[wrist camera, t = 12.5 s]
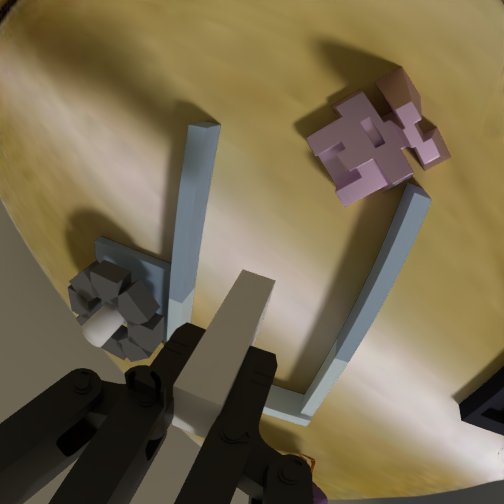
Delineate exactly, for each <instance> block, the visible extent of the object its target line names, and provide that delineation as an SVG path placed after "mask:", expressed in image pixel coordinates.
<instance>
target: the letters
mask: <svg viewBox="0 0 504 504" xmlns="http://www.w3.org/2000/svg"><path fill="white" fill-rule="evenodd" d="M374 82H375V83H376V85H377V86H378V88H379V89H380V91H381V93H382V94H383V96H384V97H385V99H386V101H387V102H388V104H389V106H390V107H391V109H392V112H390V113H388V114H386V115H385V116H383V117H380V116H379V114H378V113H377V111H376V110H375V109H374V107H373V106H372V104H371V103H370V101H369V100H368V98H367V97H366V96H365V94H364V93H363V92H362V91H361V90H360V89H359V90H357V91H356V92H354V93H352V94H350V95H348V96H347V97H345V98H343V99H341V100H340V101H338V102H336V103H335V104H333V105H331V106H332V108H333V109H334V111H335V112H336V114H337V115H338V117H339V119H337V120H335V121H333V122H332V123H330V124H328V125H327V126H325V127H323V128H322V129H320V130H318V131H316V132H315V133H313V134H311V135H310V136H308V137H307V138H306V139H307V141H308V143H309V145H310V147H311V149H312V151H313V153H314V155H315V156H317V155H318V157H319V158H320V160H321V161H322V163H323V165H324V166H325V168H326V169H327V171H328V173H329V174H330V176H331V178H332V179H333V181H334V183H335V184H336V190H335V193H336V194H337V196H338V198H339V199H340V201H341V203H342V204H343V206H344V207H346V206H348V205H350V204H352V203H353V202H355V201H357V200H359V199H361V198H363V197H365V196H367V195H369V194H371V193H373V192H375V191H376V190H378V189H380V188H381V190H382V192H383V193H384V192H386V191H387V190H389V189H391V188H393V187H395V186H397V185H399V184H401V183H403V182H405V181H407V180H409V179H411V177H412V175H413V173H414V172H413V170H412V168H411V167H410V165H409V163H408V161H407V160H406V158H405V156H404V154H403V153H402V151H401V149H403V148H405V147H410V148H414V150H415V152H416V154H417V156H418V158H419V160H420V162H421V164H422V166H423V168H424V171H426V170H428V169H430V168H432V167H433V166H435V165H437V164H439V163H441V162H443V161H445V160H447V159H449V158H451V155H450V153H449V151H448V149H447V146H446V144H445V142H444V140H443V138H442V136H441V134H440V132H439V130H438V128H437V127H436V128H434V129H432V130H430V131H428V132H426V133H424V134H423V132H422V130H421V128H420V126H419V125H418V123H417V122H418V121H420V120H422V112H421V98H420V95H419V93H418V91H417V90H416V88H415V86H414V85H413V83H412V81H411V80H410V78H409V76H408V75H407V73H406V72H405V70H404V69H403V67H400V68H398V69H396V70H394V71H392V72H391V73H389V74H387V75H385V76H383V77H381V78H379V79H377V80H376V81H374Z"/></svg>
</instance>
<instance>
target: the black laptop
mask: <svg viewBox="0 0 504 504" xmlns="http://www.w3.org/2000/svg"><path fill="white" fill-rule="evenodd" d="M459 409H460V415H461V421H464V422H466V423H469V424H472V425H475V426H478V427H480V428H483V429H486V430H489V431H492V432H495V433H498V434H501V435H504V366H503V367H502V368H501V369H500V370H499V371H498V372H497V373H496V374H495V375H493V376H492V377H491V378H490V379H489V380H488V381H487V382H486V383H484V384H483V385H482V386H481V387H480V388H479V389H477V390H476V391H475V392H474V393H473V394H471V395H470V396H469V397H468V398H466V399H465V400H464V401H463V402H461V403H460V404H459Z"/></svg>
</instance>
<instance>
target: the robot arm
mask: <svg viewBox="0 0 504 504" xmlns="http://www.w3.org/2000/svg"><path fill="white" fill-rule="evenodd" d="M274 284H275V280H272V279H269V278H266V277H263V276H260V275H257V274H255V273H252V272H249V271H246V270H242V271H241V273H240V275H239V276H238V278H237V280H236V281H235V283H234V285H233V287H232V288H231V290H230V292H229V293H228V295H227V297H226V298H225V300H224V302H223V303H222V305H221V307H220V308H219V310H218V312H217V313H216V315H215V317H214V318H213V320H212V322H211V323H210V325H209V327H208V328H207V330H205V329H203V328H200V327H198V326H195V325H193V324H190V323H188V322H186V323H185V324H183V325H181V326H180V327H178V328H176V330H175V331H174V332H173V334H172V335H171V337H170V338H169V340H168V341H167V342H166V344H165V345H164V347H163V348H162V349H161V351H160V352H159V354H158V355H157V357H156V358H155V359H154V361H153V362H152V364H151V365H150V366H147V365H138V366H135V367H132V368H130V369H129V370H128V371H127V372H125V373H124V374H125V379H126V384H117V383H112V382H108V381H103V380H101V379H100V377H99V376H98V375H97V373H95V372H94V371H92V370H90V369H86V368H80V369H75V370H73V371H71V372H70V373H68V374H67V375H65V376H64V377H63V378H61V379H60V380H59V381H57V382H56V383H55V384H53V385H52V386H50V387H49V388H48V389H46V390H45V391H44V392H42V393H41V394H40V395H38V396H37V397H36V398H34V399H33V400H32V401H30V402H29V403H27V404H26V405H25V406H23V407H22V408H21V409H20V410H18V411H17V412H15V413H14V414H13V415H11V416H10V417H9V418H7V419H6V420H5V421H3V422H2V423H1V424H0V504H23V503H24V502H25V501H27V500H28V499H29V498H30V497H32V496H33V495H34V494H35V493H37V492H38V491H39V490H40V489H41V488H43V487H44V486H45V485H46V484H48V483H49V482H50V481H51V480H53V479H54V478H55V477H56V476H57V475H58V474H60V473H61V472H62V471H63V470H64V469H66V468H67V467H68V466H69V465H70V464H71V463H73V462H74V461H75V460H76V459H77V458H78V460H77V462H76V463H75V464H74V466H73V467H72V469H71V470H70V472H69V473H68V475H67V476H66V478H65V479H64V481H63V482H62V484H61V485H60V487H59V488H58V490H57V491H56V493H55V494H54V496H53V497H52V499H51V500H50V502H49V504H129V503H130V501H131V499H132V498H133V496H134V494H135V493H136V491H137V489H138V487H139V485H140V484H141V482H142V480H143V478H144V476H145V475H146V473H147V471H148V469H149V467H150V465H151V464H152V462H153V460H154V458H155V456H156V455H157V453H158V451H159V449H160V447H161V446H162V444H163V442H164V440H165V438H166V435H167V429H168V427H169V425H170V423H171V422H172V420H173V425H175V426H177V427H179V428H181V429H184V430H186V431H188V432H191V433H193V434H196V435H198V436H201V437H203V438H206V439H205V441H204V443H203V445H202V447H201V449H200V451H199V454H198V455H197V458H196V460H195V462H194V464H193V466H192V468H191V470H190V472H189V474H188V476H187V478H186V480H185V483H184V484H183V486H182V488H181V491H180V493H179V495H178V497H177V499H176V501H175V503H174V504H230V502H231V500H232V497H233V495H234V492H235V490H236V487H237V488H239V489H240V490H242V491H243V492H245V493H246V494H247V495H249V504H313V486H312V472H311V468H310V466H309V465H308V463H307V462H306V461H305V460H304V459H302V458H301V457H299V456H296V455H291V454H287V455H282V454H280V453H279V452H277V451H276V450H274V449H273V448H271V447H270V446H269V445H267V444H266V443H265V442H264V440H263V439H262V438H261V435H260V433H259V421H260V418H261V415H262V412H263V409H264V406H265V403H266V400H267V397H268V394H269V391H270V388H271V385H272V382H273V379H274V376H275V373H276V370H277V360H276V355H275V354H273V353H270V352H267V351H264V350H262V349H259V348H256V347H253V345H254V342H255V340H256V338H257V335H258V333H259V330H260V328H261V325H262V322H263V319H264V316H265V313H266V310H267V307H268V303H269V300H270V297H271V294H272V291H273V288H274Z"/></svg>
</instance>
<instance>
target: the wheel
mask: <svg viewBox="0 0 504 504" xmlns="http://www.w3.org/2000/svg"><path fill="white" fill-rule="evenodd" d="M69 282H70V283H71V285H70V286H69V287H68V292H69V298H70V303H71V308H72V311H74V312H75V313H77V314H79V316H78V317H77V318H76V319H77V321H78V322H79V323H80V325H81V326H82V325H83V324H84V323H85V322H86V321H87V320H88V319H89V318H90V317H91V316H92V315H93V314H95V313H96V312H97V311H98V310H99V309H100V308H101V307H102V300H104V301H106V302H108V303H110V304H112V305H114V306H115V308H116V309H117V310H118V312H119V313H120V314H121V316H122V317H123V318H124V319H125V321H126V322H127V327H128V328H127V327H125V326H123V325H121V326H120V327H119V328H118V329H117V330H116V331H115V332H114V333H113V334H112V336H111V337H110V338H109V339H108V340H107V341H106V342H105V343H104V344H103V345H102V346H101V348H102V349H104V350H106V351H108V352H110V353H111V354H113V355H115V356H117V357H119V358H121V359H123V360H125V358H126V357H128V359H129V360H130V361H131V362H133V361H137V360H142V359H146V358H149V357H150V356H151V355H152V353H153V352H154V351H155V349H156V348H157V347H158V345H159V344H160V343H161V341H162V340H163V332H164V316H163V315H160V314H158V313H156V312H157V310H158V309H159V308H160V305H159V304H158V303H157V301H156V300H155V299H154V297H153V296H152V295H151V293H150V292H149V290H148V289H147V288H146V286H145V285H144V283H143V282H142V281H141V279H138V280H137V281H135V282H133V283H131V271H130V270H127V269H125V268H123V267H120V266H118V265H116V264H113V263H111V262H109V261H107V260H103V261H102V262H101V263H99V262H98V260H96V261H95V262H93V263H92V264H91V265H90V266H88V267H87V268H86V269H84V270H83V271H82V272H80V273H79V274H78V275H77V276H75V277H74V278H73V279H71V280H70V281H69ZM101 299H102V300H101Z"/></svg>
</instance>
